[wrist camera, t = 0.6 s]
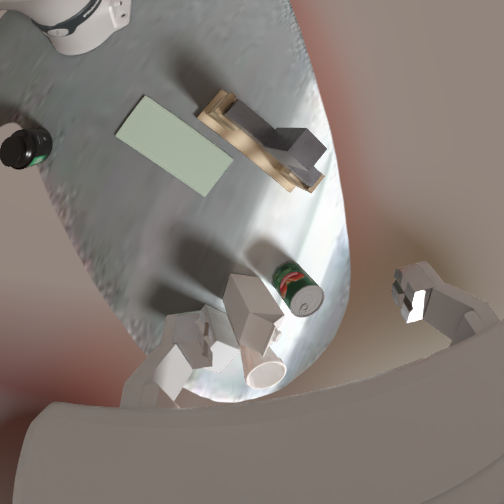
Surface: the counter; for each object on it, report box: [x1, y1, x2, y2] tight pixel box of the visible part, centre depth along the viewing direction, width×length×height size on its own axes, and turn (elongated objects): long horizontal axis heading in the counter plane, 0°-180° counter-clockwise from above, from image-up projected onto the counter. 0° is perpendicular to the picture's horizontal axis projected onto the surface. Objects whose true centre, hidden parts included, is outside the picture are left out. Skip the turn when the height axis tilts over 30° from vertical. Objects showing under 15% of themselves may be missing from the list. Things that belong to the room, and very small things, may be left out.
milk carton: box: [223, 273, 284, 357], centre depth 56 cm, size 7×7×19 cm
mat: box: [116, 95, 234, 197], centre depth 47 cm, size 21×9×1 cm, turn 50°
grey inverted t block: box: [223, 99, 327, 188], centre depth 39 cm, size 19×4×13 cm, turn 50°
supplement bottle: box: [0, 129, 52, 170], centre depth 33 cm, size 7×7×12 cm
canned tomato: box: [272, 262, 324, 317], centre depth 62 cm, size 8×8×11 cm
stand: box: [197, 90, 325, 193], centre depth 47 cm, size 24×7×10 cm, turn 50°
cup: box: [239, 343, 287, 389], centre depth 66 cm, size 10×10×13 cm
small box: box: [201, 304, 241, 374], centre depth 59 cm, size 8×6×13 cm
